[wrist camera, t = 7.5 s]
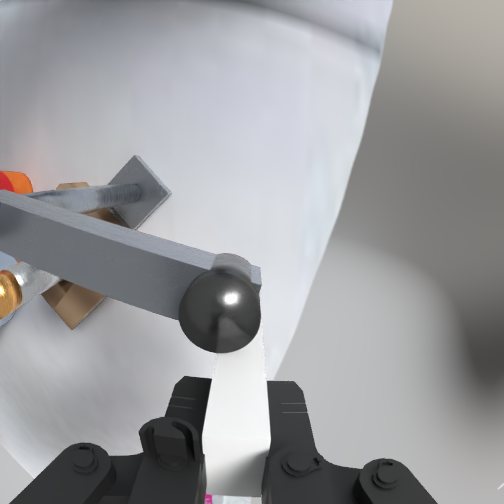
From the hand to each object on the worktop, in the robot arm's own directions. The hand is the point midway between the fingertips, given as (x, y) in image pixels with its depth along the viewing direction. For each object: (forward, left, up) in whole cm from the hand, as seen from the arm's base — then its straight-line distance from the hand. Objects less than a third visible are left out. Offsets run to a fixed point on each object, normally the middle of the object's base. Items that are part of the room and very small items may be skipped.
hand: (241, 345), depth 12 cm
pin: (+13, -11, -18) cm, 24 cm away
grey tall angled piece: (+1, -7, -16) cm, 17 cm away
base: (+4, -11, -17) cm, 21 cm away
